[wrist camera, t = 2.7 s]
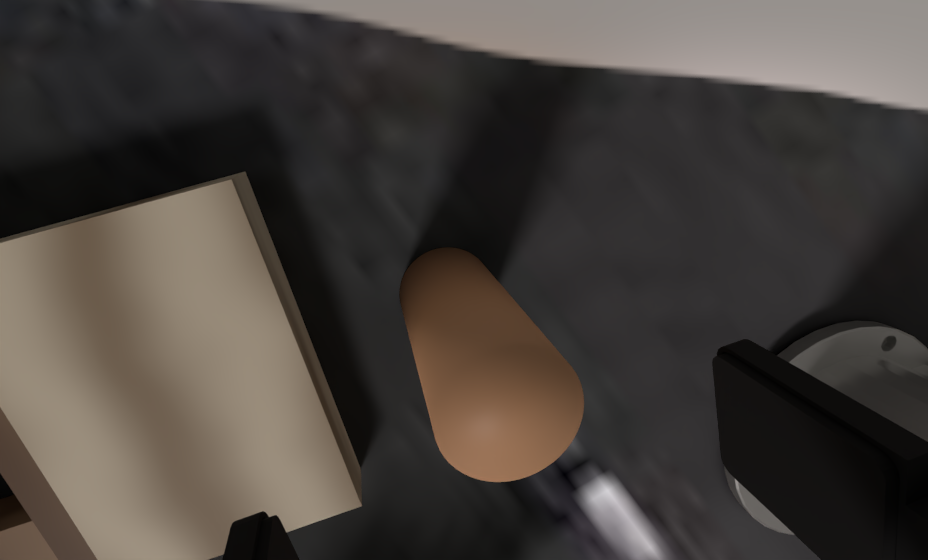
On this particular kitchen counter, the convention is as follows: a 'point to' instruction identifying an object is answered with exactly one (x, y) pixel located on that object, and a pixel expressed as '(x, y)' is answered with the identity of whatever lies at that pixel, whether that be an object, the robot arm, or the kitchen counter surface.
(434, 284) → the peg
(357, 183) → the kitchen counter surface
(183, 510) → the plywood deck
